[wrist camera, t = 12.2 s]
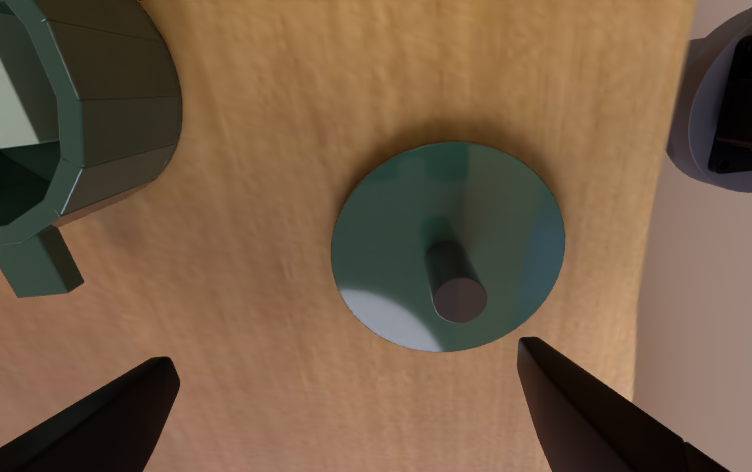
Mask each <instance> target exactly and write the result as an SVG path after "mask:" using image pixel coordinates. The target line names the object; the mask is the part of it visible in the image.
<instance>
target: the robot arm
mask: <svg viewBox="0 0 752 472" xmlns="http://www.w3.org/2000/svg"><path fill="white" fill-rule="evenodd" d="M751 42H752V35H748V36H745V37H743V38H742V39H741V40H740V41H739V42H738V43H737V45H736V48H735V51H734V55H733V60H732V64H731V68H730V72H729V76H728V81H727V85H726V89H725V93H724V98H723V102H722V106H721V110H720V114H719V119H718V123H717V127H716V131H715V135H714V140H713V144H712V148H711V152H710V157H709V161H708V169H709V171H711V172H713V173H717V174H728V173H737V172H746V171H752V48H751V50H750V51H749V45H750V43H751ZM722 161H723V163H722V165H721V166H720V167H719V164H720V162H722ZM517 369H518V374H519V377H520V381H521V384H522V387H523V391H524V394H525V397H526V401H527V404H528V407H529V411H530V414H531V417H532V421H533V424H534V427H535V430H536V433H537V436H538V439H539V441H540V444H541V446H542V449H543V451H544V454H545V456H546V458H547V461H548V463H549V465H550V468H551V470H552V472H730V471H729V470H727V469H726V468H725V467H723V466H721V465H720V464H718V463H717V462H716V461H714V460H713V459H711V458H710V457H708V456H707V455H705V454H704V453H703V452H701V451H700V450H698V449H697V448H695V447H694V446H693V445H691V444H690V443H688V442H684V441H683V439H682V438H681V437H680V436H678V435H677V434H675V433H674V432H672V431H671V430H670V429H668V428H667V427H665V426H664V425H662V424H661V423H659V422H658V421H657V420H655V419H654V418H653V417H651V416H650V415H648V414H647V413H645V412H644V411H642V410H641V409H639V408H638V407H637V406H635V405H634V404H633V403H631V402H630V401H628V400H627V399H625V398H624V397H623V396H621V395H620V394H618V393H617V392H615V391H614V390H613V389H611V388H610V387H608V386H607V385H605V384H604V383H603V382H601V381H600V380H598V379H597V378H595V377H594V376H593V375H591V374H590V373H588V372H587V371H585V370H584V369H583V368H581V367H580V366H578V365H577V364H575V363H574V362H573V361H571V360H570V359H568V358H567V357H565V356H564V355H563V354H561V353H560V352H558V351H557V350H556V349H554V348H553V347H551V346H550V345H548V344H547V343H546V342H544V341H543V340H541V339H540V338H538V337H522V338H520V339H519V342H518V356H517ZM179 388H180V379H179V376H178V374H177V371H176V369H175V367H174V364H173V362H172V360H171V359H170V358H169V357H166V356H164V357H153V358H150V359H149V360H147V361H145V362H144V363H142V364H140V365H138V366H137V367H135V368H133V369H132V370H130V371H128V372H127V373H125V374H123V375H122V376H120V377H118V378H117V379H115V380H113V381H112V382H110V383H108V384H107V385H105V386H103V387H101V388H100V389H98V390H96V391H95V392H93V393H91V394H90V395H88V396H86V397H85V398H83V399H81V400H80V401H78V402H76V403H75V404H73V405H71V406H70V407H68V408H66V409H64V410H63V411H61V412H59V413H58V414H56V415H54V416H53V417H51V418H49V419H48V420H46V421H44V422H43V423H41V424H39V425H38V426H36V427H34V428H33V429H31V430H29V431H27V432H26V433H24V434H22V435H21V436H19V437H17V438H16V439H14V440H12V441H11V442H9V443H7V444H6V445H4V446H2V447H1V448H0V472H143V470H144V468H145V466H146V464H147V462H148V460H149V459H150V457H151V455H152V452H153V450H154V448H155V446H156V444H157V442H158V439H159V437H160V435H161V432H162V430H163V427H164V425H165V423H166V420H167V418H168V415H169V413H170V411H171V408H172V406H173V403H174V401H175V398H176V396H177V394H178V391H179Z"/></svg>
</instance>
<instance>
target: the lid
mask: <svg viewBox="0 0 752 472" xmlns="http://www.w3.org/2000/svg"><path fill="white" fill-rule="evenodd" d="M564 250H565V232H564V224H563V219H562V216H561V212H560V209H559V206H558V204H557V202H556V200H555V198H554V196H553V194H552V192H551V191H550V189H549V188H548V186H547V185H546V184H545V182H544V181H543V180H542V179H541V178H540V177H539V176H538V175H537V174H536V172H535V171H534V170H532V169H531V168H530V167H528V166H527V165H526V164H525V163H523V162H522V161H521V160H519V159H517V158H515V157H513V156H512V155H510V154H508V153H506V152H504V151H502V150H499V149H496V148H494V147H491V146H488V145H483V144H479V143H474V142H465V141H441V142H434V143H429V144H423V145H420V146H417V147H414V148H410V149H407V150H405V151H403V152H401V153H399V154H396V155H394V156H392V157H390V158H389V159H387V160H386V161H384V162H383V163H381V164H379V165H378V166H376V167H375V168H374V169H373V170H372V171H371V172H369V173H368V174H367V175H366V176H365V177H364V178H363V179H362V180H361V181H360V182H359V183H358V184H357V186H356V187H355V188H354V189H353V191H352V192H351V194H350V195H349V197H348V198H347V199H346V201H345V203H344V205H343V207H342V209H341V211H340V213H339V216H338V218H337V221H336V225H335V228H334V231H333V237H332V242H331V264H332V272H333V275H334V279H335V283H336V285H337V288H338V290H339V293H340V295H341V297H342V298H343V300H344V302H345V303H346V305H347V307H348V308H349V309H350V311H351V312H352V313H353V314H354V316H355V317H356V318H357V319H358V320H359V321H360V322H361V323H362V324H364V325H365V326H366V327H367V328H369V329H370V330H371V331H373V332H374V333H375V334H377V335H379V336H380V337H382V338H384V339H386V340H388V341H390V342H393V343H395V344H397V345H400V346H403V347H407V348H410V349H415V350H420V351H429V352H453V351H461V350H467V349H471V348H475V347H479V346H482V345H485V344H487V343H490V342H492V341H495V340H497V339H499V338H501V337H503V336H505V335H506V334H508V333H510V332H511V331H513V330H515V329H516V328H517V327H519V326H520V325H521V324H523V323H524V322H525V321H526V320H527V319H529V318H530V317H531V316H532V315H533V314H534V313H535V312H536V311H537V310H538V308H539V307H540V306H541V305H542V303H543V302H544V301H545V300H546V298H547V296H548V295H549V293H550V292H551V290H552V288H553V286H554V284H555V282H556V280H557V278H558V275H559V272H560V269H561V266H562V263H563V256H564Z"/></svg>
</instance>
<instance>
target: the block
mask: <svg viewBox="0 0 752 472" xmlns="http://www.w3.org/2000/svg"><path fill="white" fill-rule="evenodd" d="M59 140H60V137H59V122H58V108H57V97H56V95H55V93H54V90H53V88H52V86H51V83H50V81H49V79H48V76H47V74H46V72H45V69H44V67H43V65H42V63H41V60H40V58H39V56H38V53H37V51H36V49H35V46H34V44H33V42H32V39H31V37H30V35H29V33H28V30H27V28H26V27H25V26H24V24H23V23H22V22H21V21H20V19H19V18H18V17H16V16H11V15H6V14H0V149H2V148H9V147H17V146H25V145H33V144H40V143H46V142H53V141H59Z"/></svg>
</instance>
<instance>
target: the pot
mask: <svg viewBox="0 0 752 472" xmlns="http://www.w3.org/2000/svg"><path fill="white" fill-rule="evenodd" d="M0 14H6V15H11V16H16V17H18V18H19V19H20V21H21V22H22V23H23V24H24V26H25V27H26V28H27V30H28V33H29V35H30V37H31V39H32V42H33V44H34V46H35V49H36V51H37V53H38V56H39V58H40V60H41V63H42V65H43V67H44V69H45V72H46V74H47V76H48V79H49V81H50V83H51V86H52V88H53V90H54V93H55V95H56V97H57V108H58V122H59V137H60V140H59V141H53V142H46V143H40V144H33V145H25V146H17V147H9V148H2V149H0V269H1V271H2V273H3V274H4V276H5V278H6V279H7V281H8V283H9V284H10V286H11V288H12V289H13V291H14V293H15V294H16V296H17V297H18V298H25V297H35V296H46V295H56V294H66V293H69V292H71V291H72V290H74V289H75V288H77V287H78V286H80V285H81V284H83V283H84V280H83V278H82V276H81V274H80V272H79V270H78V268H77V266H76V264H75V262H74V260H73V258H72V256H71V253H70V251H69V249H68V247H67V245H66V243H65V241H64V239H63V237H62V235H61V233H60V231H59V229H58V227H61V226H63V225H65V224H68V223H70V222H72V221H75V220H77V219H79V218H82V217H84V216H86V215H89V214H91V213H93V212H96V211H98V210H100V209H103V208H105V207H107V206H110V205H112V204H114V203H117V202H119V201H121V200H124V199H126V198H127V197H129V196H131V195H132V194H134V193H135V192H137V191H139V190H141V189H143V188H145V187H146V186H147V185H149V184H150V183H151V182H153V181H154V180H155V179H156V178H157V177H158V176H159V175H160V174H161V173H162V172H163V171H164V169H165V168H166V166H167V165H168V163H169V162H170V160H171V158H172V156H173V154H174V151H175V149H176V146H177V143H178V139H179V136H180V130H181V122H182V102H181V94H180V86H179V82H178V78H177V74H176V70H175V67H174V65H173V62H172V59H171V57H170V54H169V51H168V49H167V47H166V45H165V43H164V41H163V39H162V37H161V35H160V34H159V32H158V30H157V29H156V27H155V25H154V24H153V22H152V21H151V19H150V18H149V16H148V15H147V14H146V12H145V11H144V10H143V8H142V7H141V6H140V5H139V3H138V2H137V1H136V0H0Z"/></svg>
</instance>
